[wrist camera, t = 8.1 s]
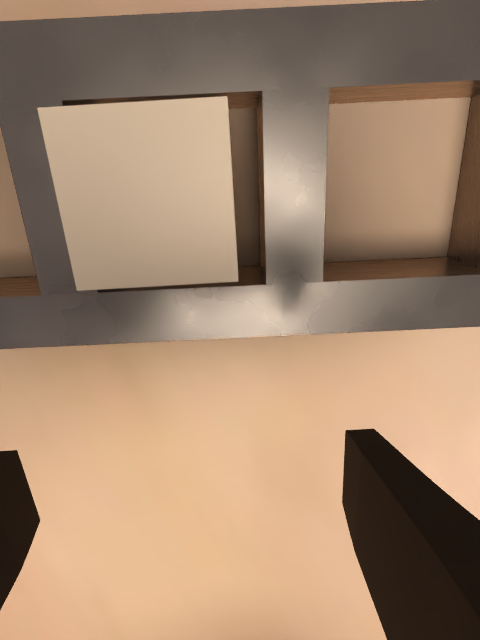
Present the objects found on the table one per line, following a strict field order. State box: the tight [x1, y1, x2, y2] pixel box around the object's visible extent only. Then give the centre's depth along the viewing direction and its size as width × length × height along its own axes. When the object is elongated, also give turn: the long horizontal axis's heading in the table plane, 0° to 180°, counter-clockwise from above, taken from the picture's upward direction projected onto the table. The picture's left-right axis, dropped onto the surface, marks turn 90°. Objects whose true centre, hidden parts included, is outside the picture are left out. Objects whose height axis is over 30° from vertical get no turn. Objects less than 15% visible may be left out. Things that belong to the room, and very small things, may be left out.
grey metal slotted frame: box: [0, 0, 480, 349], centre depth 14 cm, size 26×10×3 cm, turn 93°
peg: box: [37, 96, 238, 291], centre depth 12 cm, size 4×4×7 cm
